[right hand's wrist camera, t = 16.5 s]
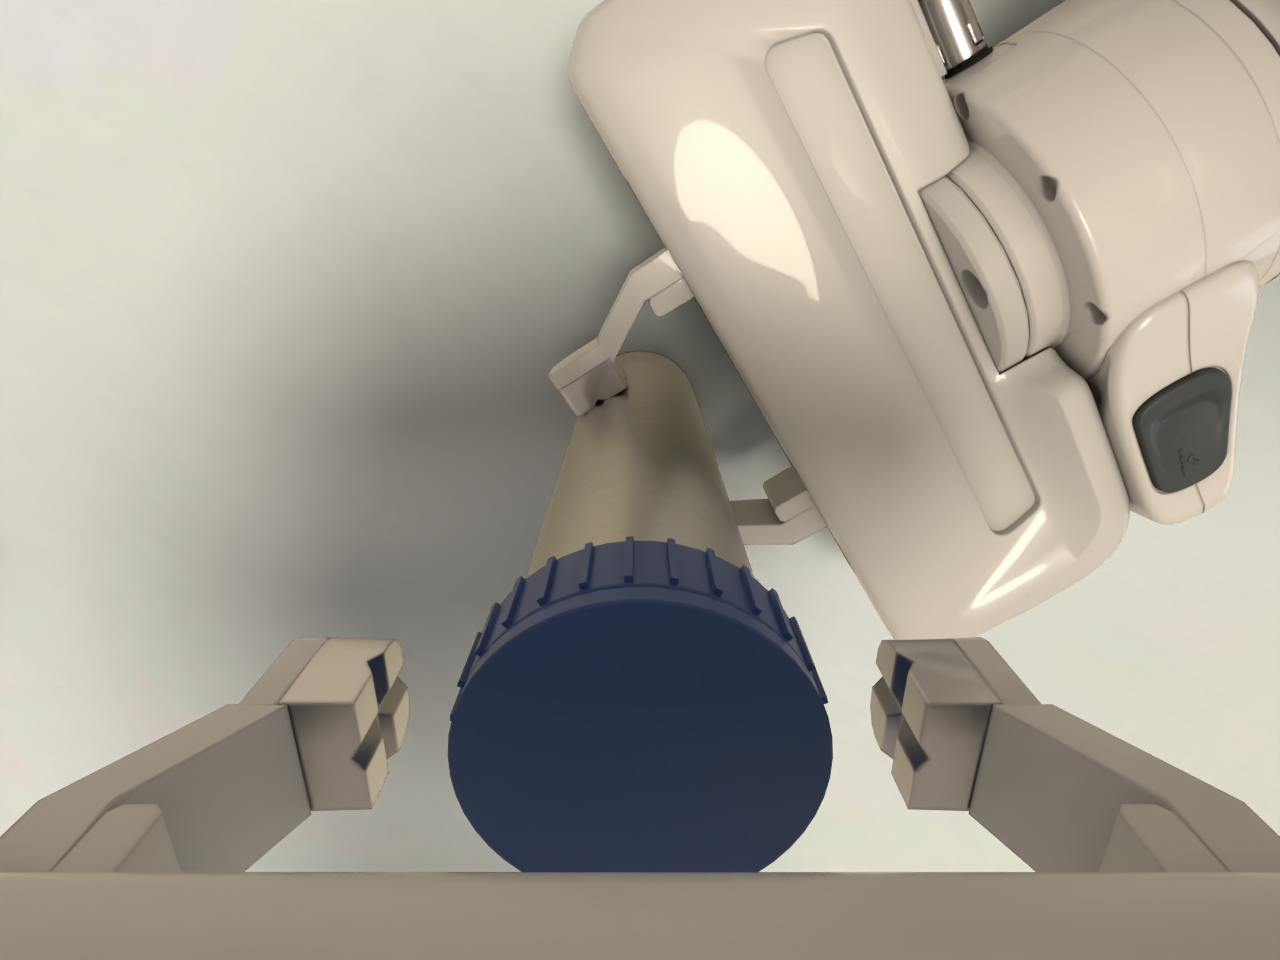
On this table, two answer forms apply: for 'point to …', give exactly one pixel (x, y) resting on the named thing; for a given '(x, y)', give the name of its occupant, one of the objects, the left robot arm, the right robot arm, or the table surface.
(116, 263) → the table surface
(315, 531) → the table surface
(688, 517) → the tan tube
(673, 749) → the lid
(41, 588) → the table surface
